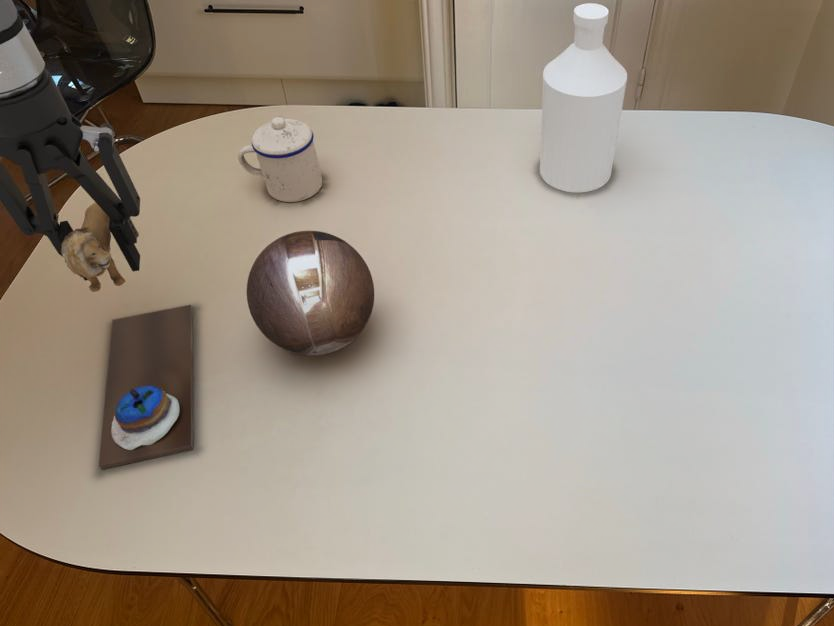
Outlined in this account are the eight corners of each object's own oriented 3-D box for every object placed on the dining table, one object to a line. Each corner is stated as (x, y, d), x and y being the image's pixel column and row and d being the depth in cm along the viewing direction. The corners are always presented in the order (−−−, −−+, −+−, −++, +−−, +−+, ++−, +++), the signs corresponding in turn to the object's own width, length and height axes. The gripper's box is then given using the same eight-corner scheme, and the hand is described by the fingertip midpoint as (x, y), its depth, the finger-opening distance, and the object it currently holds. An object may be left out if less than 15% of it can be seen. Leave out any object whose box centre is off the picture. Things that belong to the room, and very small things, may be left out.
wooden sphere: (293, 399, 85) (261, 314, 73) (247, 323, 93) (211, 235, 81) (402, 345, 90) (388, 258, 78) (349, 277, 98) (329, 189, 86)
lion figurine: (134, 305, 79) (99, 244, 72) (84, 314, 78) (44, 253, 71) (141, 223, 88) (110, 161, 81) (96, 230, 87) (61, 169, 80)
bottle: (527, 183, 110) (533, 23, 91) (552, 142, 117) (562, -15, 98) (600, 200, 107) (622, 38, 88) (621, 158, 114) (646, -1, 95)
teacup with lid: (327, 168, 114) (313, 102, 105) (320, 203, 108) (303, 137, 99) (254, 169, 114) (233, 104, 105) (242, 205, 108) (219, 138, 99)
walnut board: (101, 469, 79) (98, 466, 78) (115, 323, 93) (112, 319, 92) (193, 449, 80) (191, 445, 80) (192, 308, 95) (190, 304, 94)
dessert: (159, 376, 85) (154, 369, 80) (193, 420, 86) (190, 416, 80) (97, 417, 82) (88, 412, 77) (133, 461, 83) (126, 460, 77)
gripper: (-112, 117, 61) (28, 305, 79) (102, 85, 63) (190, 274, 81) (-91, 74, 65) (37, 261, 83) (108, 46, 68) (190, 233, 86)
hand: (112, 267), depth 82 cm, fingers closed on lion figurine, 5 cm apart
